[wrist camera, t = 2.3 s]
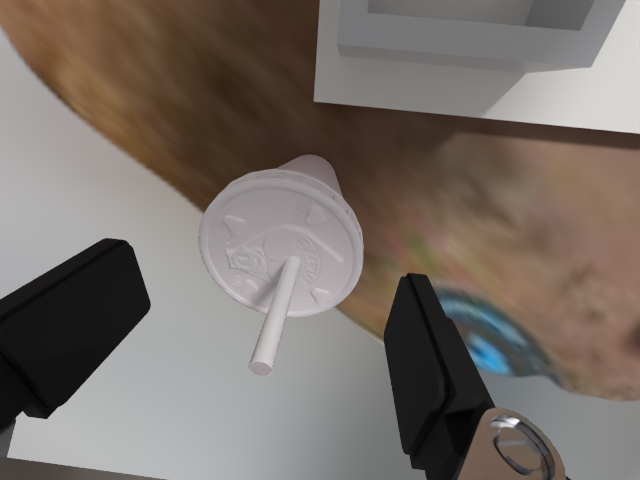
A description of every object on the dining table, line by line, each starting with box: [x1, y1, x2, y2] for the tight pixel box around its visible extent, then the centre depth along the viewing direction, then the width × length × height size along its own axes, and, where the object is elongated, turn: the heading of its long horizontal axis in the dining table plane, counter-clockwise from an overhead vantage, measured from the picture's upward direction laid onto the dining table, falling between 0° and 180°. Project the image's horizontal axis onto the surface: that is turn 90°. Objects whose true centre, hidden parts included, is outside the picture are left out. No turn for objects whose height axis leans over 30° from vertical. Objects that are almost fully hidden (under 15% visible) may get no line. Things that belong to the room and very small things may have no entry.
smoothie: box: [199, 154, 364, 376], centre depth 12 cm, size 6×6×14 cm
